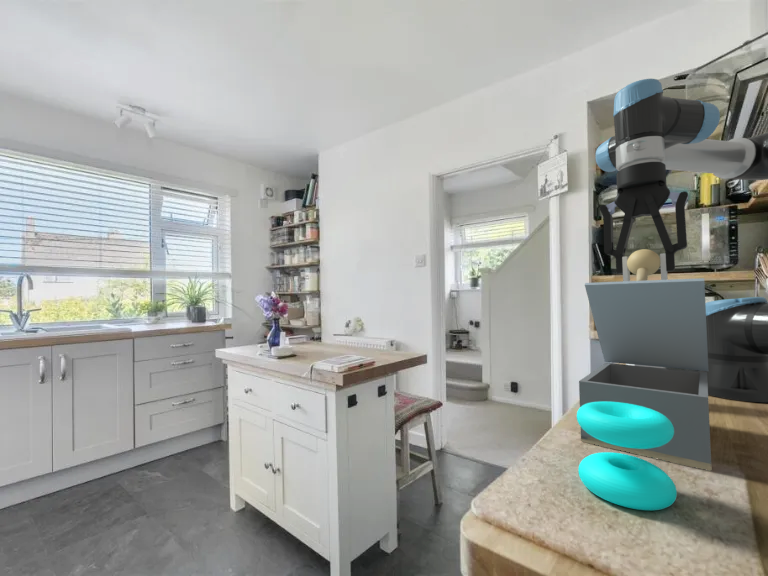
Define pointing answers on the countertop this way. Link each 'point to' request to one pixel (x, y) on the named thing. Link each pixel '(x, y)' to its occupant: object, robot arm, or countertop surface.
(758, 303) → the robot arm
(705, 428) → the carton
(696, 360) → the flap
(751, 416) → the countertop surface
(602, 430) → the donuts
